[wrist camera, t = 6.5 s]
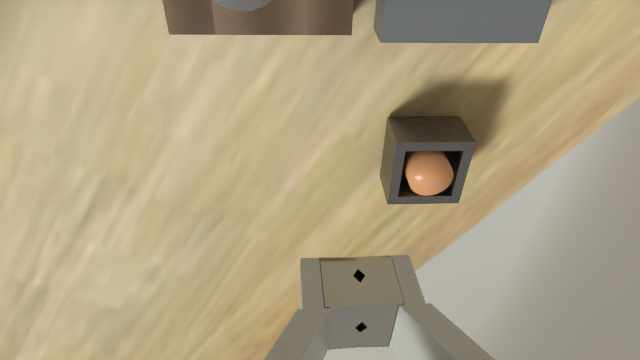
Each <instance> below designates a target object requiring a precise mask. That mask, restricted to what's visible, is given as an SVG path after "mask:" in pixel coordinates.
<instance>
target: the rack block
mask: <svg viewBox="0 0 640 360" xmlns="http://www.w3.org/2000/svg"><path fill="white" fill-rule="evenodd" d="M551 3H552V0H376V10H375V21H374V30H375V32H376V34H377V36H378V39H379V41H380V43H538V42H539V39H540V36H541V33H542V30H543V27H544V24H545V21H546V18H547V15H548V12H549V9H550V6H551Z"/></svg>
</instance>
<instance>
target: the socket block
mask: <svg viewBox="0 0 640 360" xmlns="http://www.w3.org/2000/svg"><path fill="white" fill-rule="evenodd" d="M353 3H354V0H271V1H270V2H269V3H268V4H266V5H265V6H263V7H261V8H258V9H255V10H251V11H235V10H230V9H227V8H224V7H222V6H220V5H218V4H217V3H215V2H214V1H212V0H163V5H164V10H165V15H166V20H167V25H168V30H169V34H208V35H352V19H353Z"/></svg>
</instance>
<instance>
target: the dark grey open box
mask: <svg viewBox="0 0 640 360" xmlns="http://www.w3.org/2000/svg"><path fill="white" fill-rule="evenodd" d="M475 144H476V141H475V140H474V138H473V137H472V135H471V133H470V132H469V130H468V129H467V127H466V126H465V124H464V122H463V121H462V119H461V118H460V117H388V119H387V127H386V134H385V142H384V149H383V157H382V165H381V172H380V178H381V182H382V186H383V189H384V193H385V197H386V201H387V204H431V203H459V200H460V196H461V193H462V189H463V186H464V182H465V179H466V175H467V172H468V168H469V165H470V161H471V158H472V154H473V151H474V147H475ZM406 151H444V153H445V155H446V157H447V159H448V161H449V163H450V165H451V167H452V169H453V180H452V182H451V184H450V185H449V186H448V187H447V188H446V189H445V190H443V191H442V192H440V193H438V194H435V195H429V196H424V195H419V194H417V193H415V192H414V191H413V190H412V189H411V188H410V186H409V183H408V180H407V177H406V174H405V171H404V169H403V164H404V158H405V152H406Z"/></svg>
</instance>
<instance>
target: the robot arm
mask: <svg viewBox="0 0 640 360" xmlns="http://www.w3.org/2000/svg"><path fill="white" fill-rule="evenodd" d="M355 347H389V349H390V350H391V351H392V353H393V354H394V355H395V356H396V358H397V359H398V360H495V359H494V358H492V357H491V356H490V355H489V354H488V353H487V352H486V351H484V350H483V349H482V348H481V347H480V346H479V345H478V344H476V343H475V342H474V341H473V340H472V339H471V338H469V336H467V335H466V334H465V333H464V332H463V331H462V330H461V329H459V328H458V327H457V326H456V325H455V324H453V322H451V321H450V320H449V319H448V318H447V317H446V316H445V315H443V314H442V313H441V312H440V311H439V310H437V308H435V307H434V306H433V305H432V304H426V303H425V300H424V297H423V295H422V291H421V289H420V286H419V283H418V280H417V277H416V274H415V271H414V268H413V265H412V262H411V259H410V257H409V256H408V255H394V256H366V257H352V258H301V259H300V309H297V311H296V312H295V314H294V315H293V317H292V318H291V320H290V321H289V323H288V324H287V326H286V327H285V329H284V330H283V332H282V333H281V335H280V336H279V338H278V339H277V341H276V342H275V344H274V346H273V347H272V349H271V350H270V352H269V353H268V355H267V356H266V358H265V359H264V360H323V359H324V357H325V355H326V353H327V350H329V349H341V348H355Z"/></svg>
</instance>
